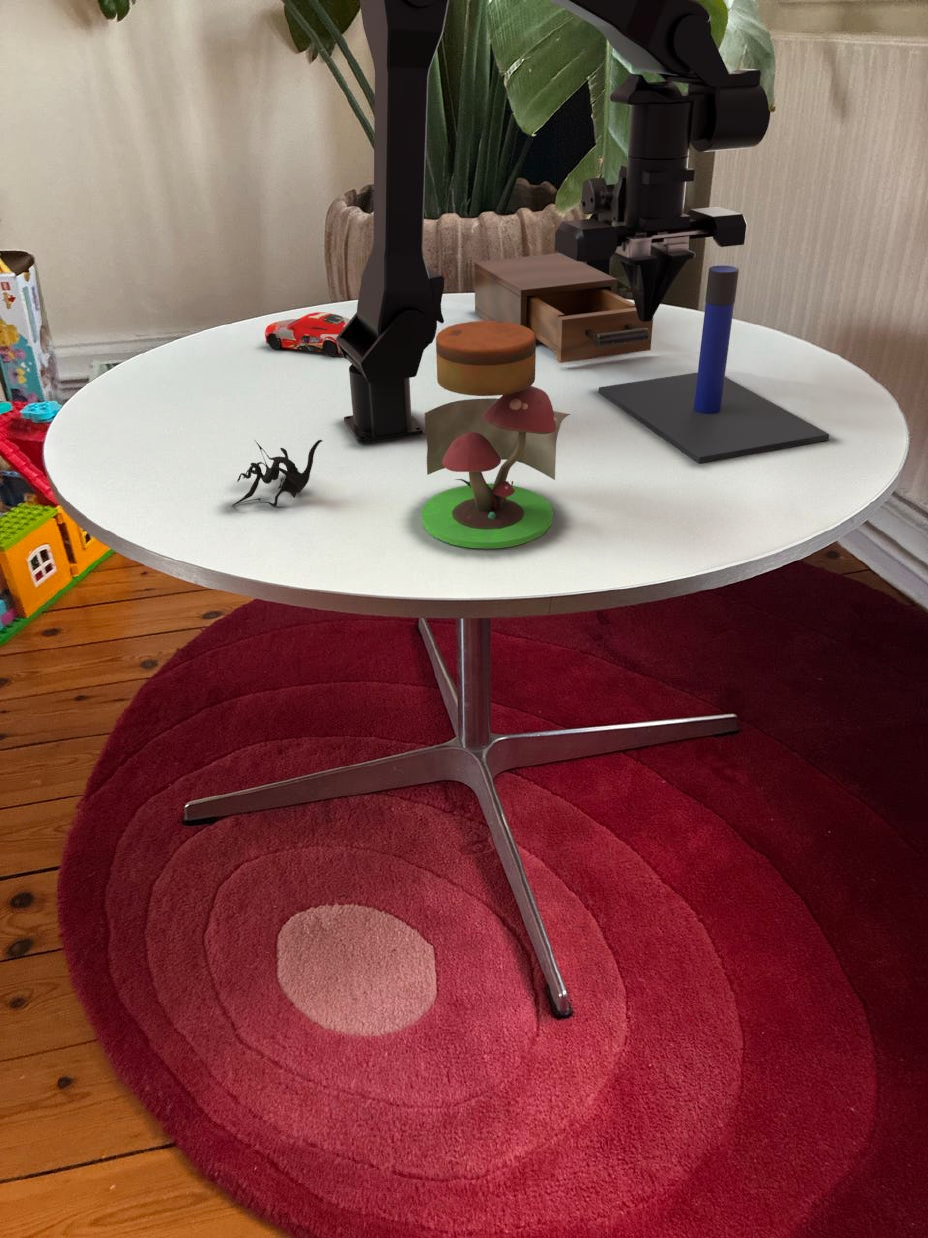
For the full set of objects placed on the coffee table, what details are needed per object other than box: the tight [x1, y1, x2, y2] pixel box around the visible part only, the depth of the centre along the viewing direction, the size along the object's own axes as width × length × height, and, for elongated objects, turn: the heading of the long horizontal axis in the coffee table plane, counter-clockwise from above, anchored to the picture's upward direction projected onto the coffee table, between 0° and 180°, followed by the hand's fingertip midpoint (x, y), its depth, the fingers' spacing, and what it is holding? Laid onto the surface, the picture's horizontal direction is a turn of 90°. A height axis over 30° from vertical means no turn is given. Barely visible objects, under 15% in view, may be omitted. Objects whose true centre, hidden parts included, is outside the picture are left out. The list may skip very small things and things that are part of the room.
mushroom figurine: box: [421, 320, 571, 549], centre depth 75 cm, size 12×13×15 cm
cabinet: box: [473, 252, 618, 345], centre depth 123 cm, size 16×13×7 cm
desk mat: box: [597, 372, 830, 464], centre depth 97 cm, size 20×14×1 cm
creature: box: [231, 439, 324, 508], centre depth 82 cm, size 8×5×8 cm
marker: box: [694, 265, 740, 414], centre depth 93 cm, size 3×3×14 cm
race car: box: [264, 311, 351, 358], centre depth 117 cm, size 13×5×4 cm, turn 66°
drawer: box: [526, 287, 654, 364], centre depth 113 cm, size 18×11×5 cm, turn 20°
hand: (644, 320), depth 101 cm, fingers closed
